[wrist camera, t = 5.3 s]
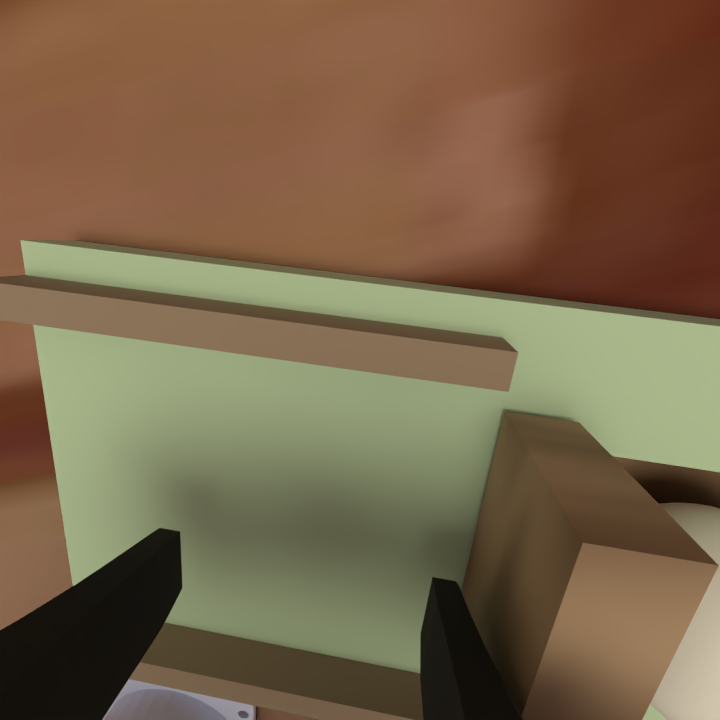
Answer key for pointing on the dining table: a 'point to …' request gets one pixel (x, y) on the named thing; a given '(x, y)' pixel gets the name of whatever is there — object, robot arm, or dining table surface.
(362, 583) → the putting board
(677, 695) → the ball
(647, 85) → the dining table surface
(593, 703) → the wooden block
